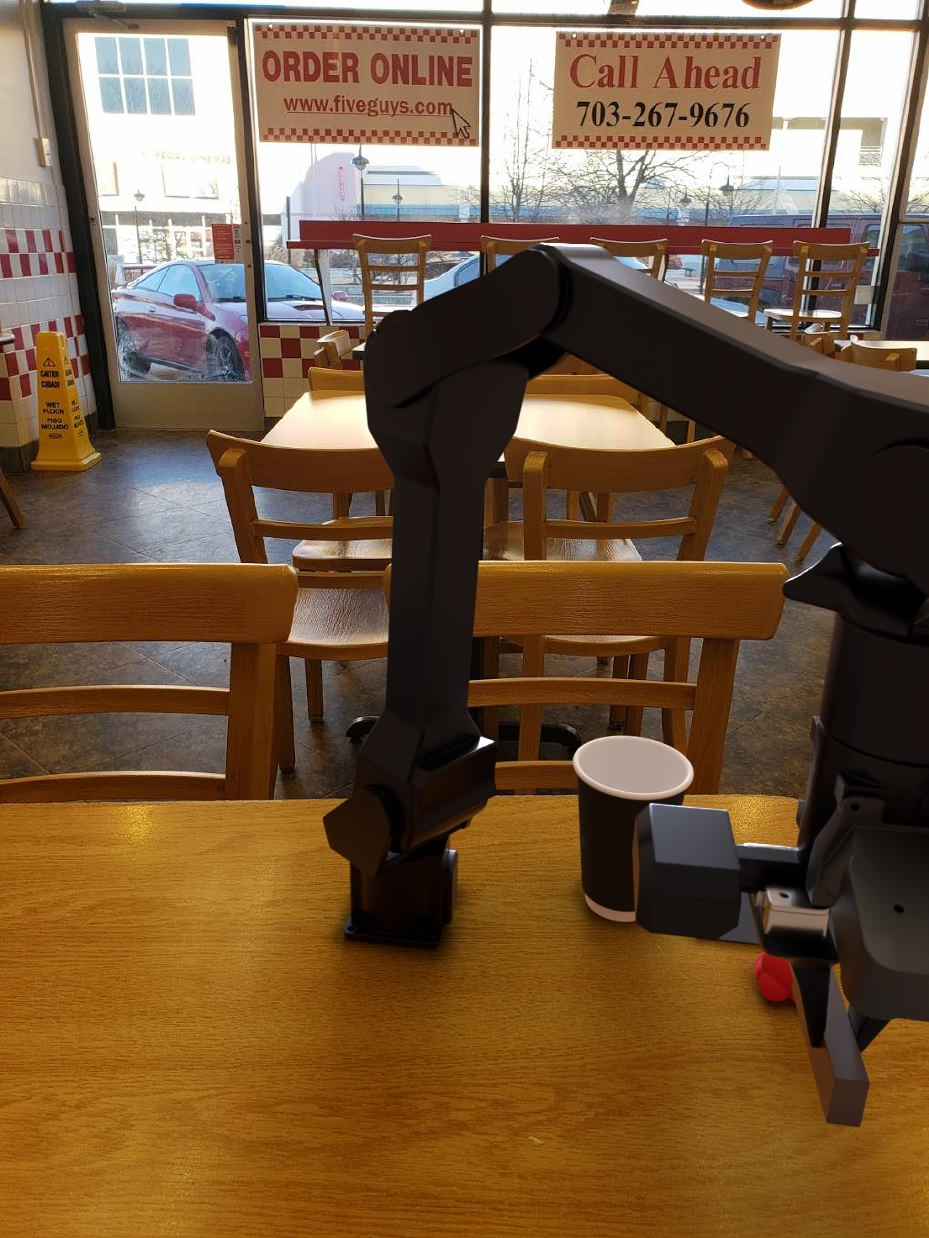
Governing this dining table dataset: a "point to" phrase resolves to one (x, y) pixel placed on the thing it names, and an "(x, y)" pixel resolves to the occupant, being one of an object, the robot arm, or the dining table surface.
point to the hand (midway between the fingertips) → (832, 1043)
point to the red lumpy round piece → (774, 977)
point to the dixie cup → (620, 812)
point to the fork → (837, 1062)
